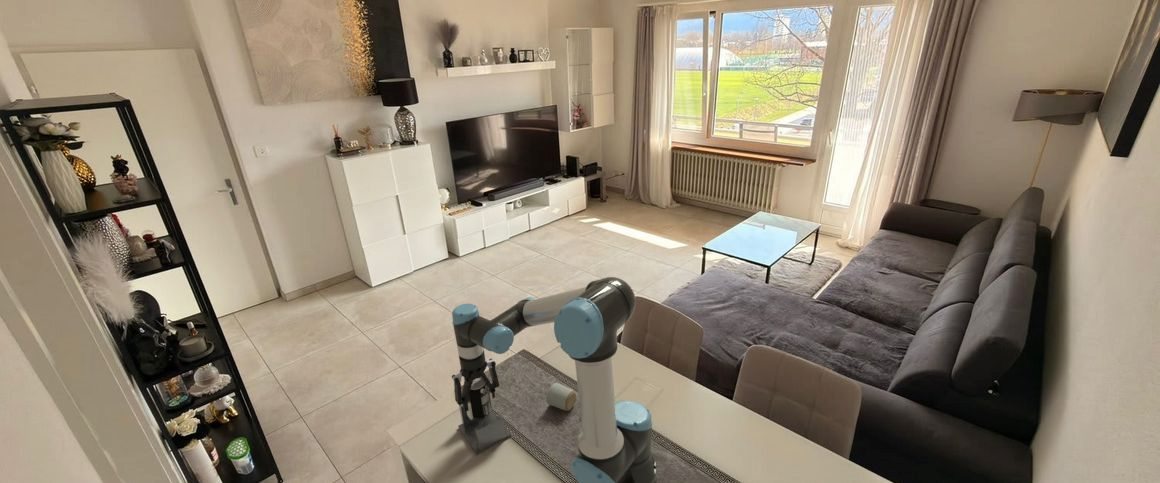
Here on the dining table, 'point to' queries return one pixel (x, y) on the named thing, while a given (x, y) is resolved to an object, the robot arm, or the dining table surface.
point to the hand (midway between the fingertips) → (480, 411)
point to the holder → (483, 430)
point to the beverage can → (479, 399)
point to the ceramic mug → (561, 397)
